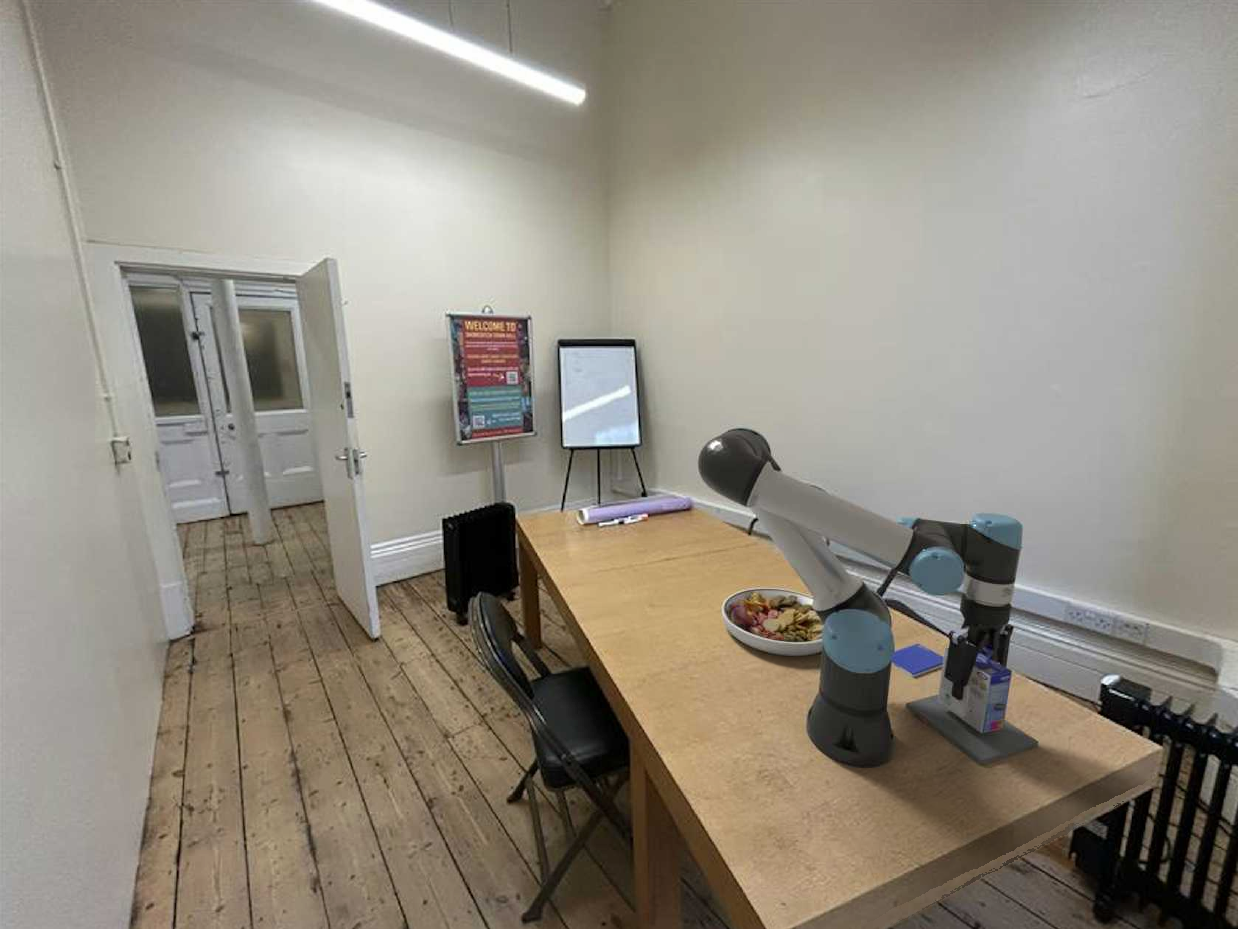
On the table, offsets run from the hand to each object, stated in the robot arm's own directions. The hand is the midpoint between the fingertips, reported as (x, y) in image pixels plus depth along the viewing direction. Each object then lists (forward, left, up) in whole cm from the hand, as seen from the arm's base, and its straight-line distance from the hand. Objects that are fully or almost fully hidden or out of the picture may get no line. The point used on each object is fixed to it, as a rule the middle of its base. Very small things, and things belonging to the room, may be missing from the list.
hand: (970, 708), depth 99 cm
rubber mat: (0, 0, -4) cm, 4 cm away
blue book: (+9, +20, -4) cm, 22 cm away
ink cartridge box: (0, 0, -2) cm, 2 cm away
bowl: (-13, +43, -4) cm, 45 cm away
